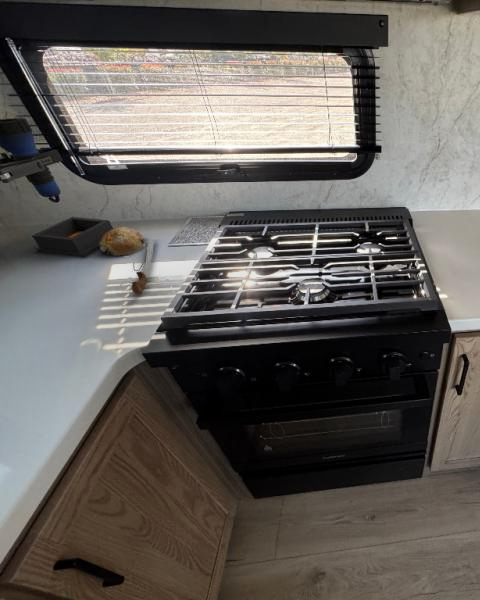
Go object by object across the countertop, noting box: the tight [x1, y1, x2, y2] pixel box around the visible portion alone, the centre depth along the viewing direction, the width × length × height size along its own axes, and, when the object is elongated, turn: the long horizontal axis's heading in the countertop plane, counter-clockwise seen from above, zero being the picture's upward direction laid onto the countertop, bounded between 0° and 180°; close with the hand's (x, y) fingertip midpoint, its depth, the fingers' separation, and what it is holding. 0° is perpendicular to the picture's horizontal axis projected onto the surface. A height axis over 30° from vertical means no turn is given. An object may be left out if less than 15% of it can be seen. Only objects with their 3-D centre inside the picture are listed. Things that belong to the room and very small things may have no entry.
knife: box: [131, 239, 155, 294], centre depth 91 cm, size 4×1×30 cm
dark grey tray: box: [31, 216, 114, 258], centre depth 100 cm, size 15×13×6 cm
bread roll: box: [99, 226, 146, 257], centre depth 99 cm, size 10×10×8 cm
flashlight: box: [0, 117, 61, 204], centre depth 87 cm, size 8×8×20 cm
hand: (49, 154), depth 90 cm, fingers closed on flashlight, 5 cm apart
